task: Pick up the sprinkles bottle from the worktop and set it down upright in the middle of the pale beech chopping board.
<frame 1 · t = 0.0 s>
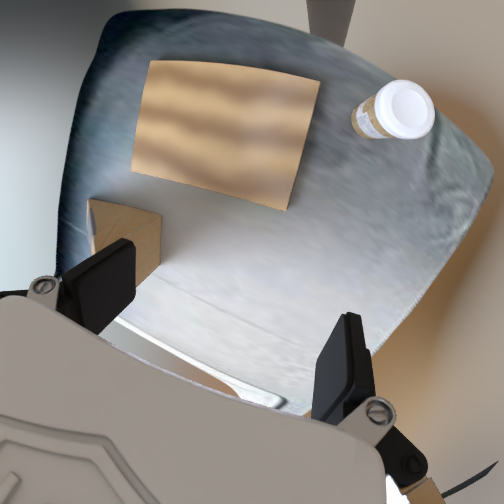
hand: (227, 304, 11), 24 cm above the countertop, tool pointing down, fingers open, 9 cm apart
chopping board: (216, 125, 31), on the countertop
sandwich container: (121, 229, 40), on the countertop
sprinkles bottle: (368, 121, 27), on the countertop
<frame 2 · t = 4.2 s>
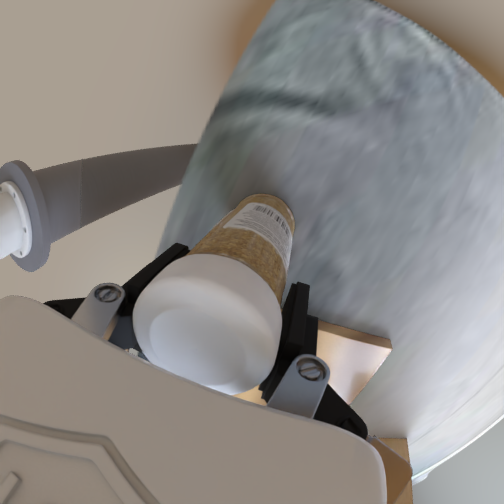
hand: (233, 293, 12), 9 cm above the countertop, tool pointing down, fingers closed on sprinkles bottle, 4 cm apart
chopping board: (271, 390, 27), on the countertop
sandwich container: (358, 458, 30), on the countertop
sprinkles bottle: (264, 223, 20), on the countertop, touching gripper
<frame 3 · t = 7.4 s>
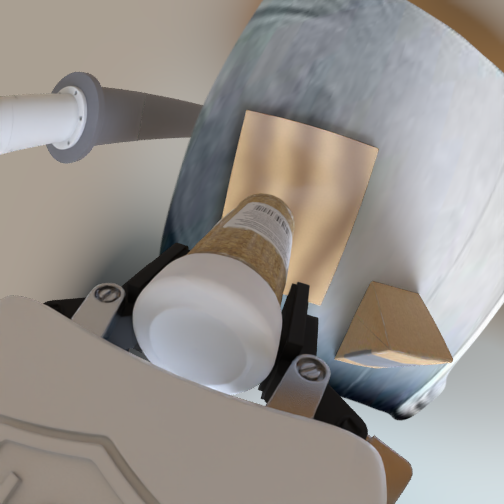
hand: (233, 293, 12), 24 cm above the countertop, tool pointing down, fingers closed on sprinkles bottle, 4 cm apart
chopping board: (289, 210, 34), on the countertop
sandwich container: (375, 328, 38), on the countertop
sprinkles bottle: (264, 223, 20), point 15 cm above the countertop, touching gripper
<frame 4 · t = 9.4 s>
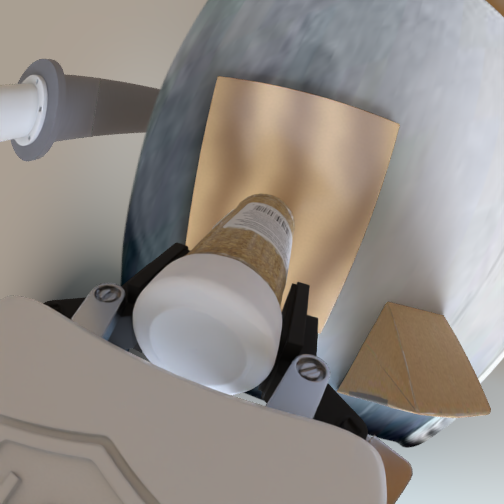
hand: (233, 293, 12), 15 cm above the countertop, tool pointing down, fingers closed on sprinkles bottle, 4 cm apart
chopping board: (278, 210, 25), on the countertop
sandwich container: (387, 357, 29), on the countertop
sprinkles bottle: (264, 223, 20), point 6 cm above the countertop, touching gripper
when the fingers open (10 cm above the countertop, at t = 10.9 s): sprinkles bottle stays where it is, resting on chopping board.
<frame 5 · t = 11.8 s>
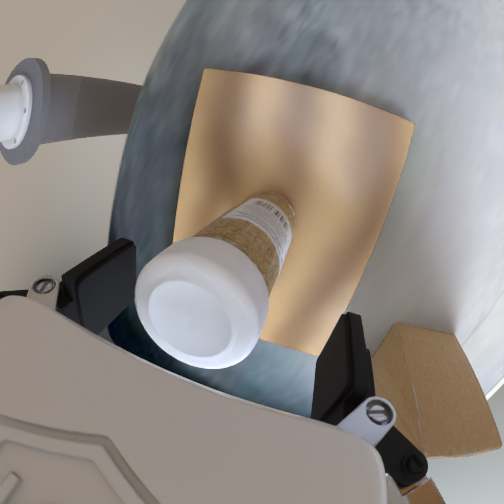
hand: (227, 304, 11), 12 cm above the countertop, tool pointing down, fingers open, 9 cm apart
chopping board: (275, 221, 22), on the countertop
sandwich container: (393, 379, 26), on the countertop
sprinkles bottle: (268, 219, 21), point 1 cm above the countertop, touching chopping board
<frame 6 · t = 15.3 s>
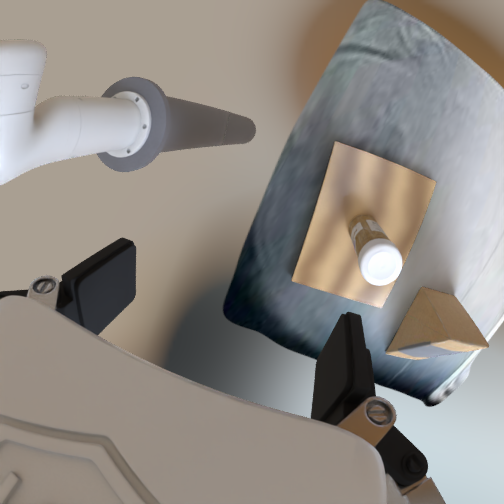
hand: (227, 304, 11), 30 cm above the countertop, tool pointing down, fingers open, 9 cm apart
chopping board: (363, 229, 38), on the countertop
sandwich container: (419, 325, 42), on the countertop
sprinkles bottle: (363, 228, 37), point 1 cm above the countertop, touching chopping board
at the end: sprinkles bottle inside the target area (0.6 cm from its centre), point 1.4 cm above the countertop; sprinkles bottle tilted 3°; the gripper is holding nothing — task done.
